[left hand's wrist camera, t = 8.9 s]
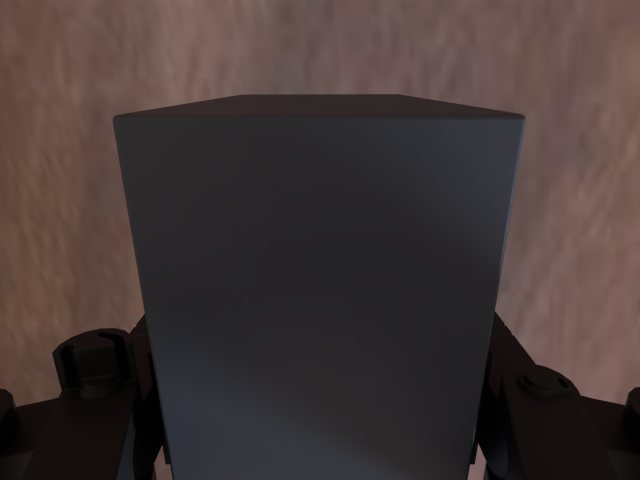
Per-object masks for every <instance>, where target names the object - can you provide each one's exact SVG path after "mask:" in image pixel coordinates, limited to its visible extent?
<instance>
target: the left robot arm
mask: <svg viewBox="0 0 640 480" xmlns="http://www.w3.org/2000/svg"><path fill="white" fill-rule="evenodd" d="M52 354H53V358H54V362H55V366H56V370H57V374H58V378H59V381H60V385H61V389H62V392H61V394H60V396H59V398H55V399H51V400H47V401H42V402H38V403H33V404H28V405H23V406H19V407H16V406H15V402H14V399H13V396H12V394H11V393H9V392H8V391H7V390H6V389H0V480H156V472H155V467H154V462H155V460H156V458H157V455H158V453H159V451H160V448H161V446H162V445H163V451H164V457H165V463H166V464H170V459H169V454H168V448H167V442H166V436H165V430H164V424H163V418H162V412H161V406H160V400H159V394H158V388H157V382H156V376H155V370H154V364H153V358H152V352H151V346H150V340H149V334H148V328H147V322H146V316H145V314H144V315H143V317H142V318H141V319H140V321H139V322H138V323H137V325H136V327H134V328H133V330H132V331H131V332H130V334H128V333H127V332H126V331H124V330H120V329H116V328H105V329H97V330H92V331H87V332H84V333H81V334H79V335H76V336H74V337H71V338H70V339H68V340H67V341H65V342H63V343H62V344H60V345H59V346H58V347H57V348H56V349H55V350H54V352H53V353H52ZM478 443H479V445H480V448H481V450H482V452H483V455H484V457H485V459H486V467H485V472H484V478H483V480H640V387H636V388H634V389H633V390H632V391H631V392H629V394H628V397H627V401H626V404H625V405H621V404H616V403H612V402H607V401H602V400H597V399H592V398H588V397H585V396H581V395H580V393H579V391H578V390H577V388H576V387H575V386H574V384H573V383H572V382H571V381H570V380H569V379H567V378H566V377H565V376H563V375H562V374H560V373H559V372H556V371H554V370H552V369H550V368H547V367H544V366H540V365H536V364H535V363H534V361H533V360H532V359H531V357H530V356H529V355H528V353H527V352H526V351H525V350H524V348H523V347H522V346H521V344H520V343H519V342H518V340H517V339H516V338H515V337H514V335H512V333H511V331H510V330H509V329H508V327H507V326H505V325H504V322H503V321H502V320H501V318H500V317H499V316H498V314H497V313H496V312H494V318H493V325H492V331H491V337H490V343H489V349H488V356H487V362H486V368H485V374H484V380H483V386H482V393H481V399H480V405H479V411H478V417H477V423H476V430H475V436H474V442H473V448H472V454H471V461H470V464H475V459H476V453H477V447H478Z"/></svg>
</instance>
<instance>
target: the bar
mask: <svg viewBox="0 0 640 480" xmlns="http://www.w3.org/2000/svg"><path fill="white" fill-rule="evenodd" d="M525 121H526V119H525V116H524V115H522V114H517V113H511V112H504V111H498V110H492V109H486V108H480V107H473V106H467V105H461V104H455V103H448V102H442V101H436V100H430V99H424V98H417V97H411V96H405V95H399V94H349V95H237V96H231V97H225V98H219V99H213V100H207V101H200V102H194V103H188V104H182V105H176V106H170V107H164V108H158V109H151V110H145V111H139V112H133V113H127V114H121V115H117V116H114V117H113V125H114V131H115V137H116V143H117V149H118V155H119V161H120V167H121V173H122V179H123V185H124V191H125V197H126V203H127V209H128V215H129V221H130V227H131V233H132V238H133V244H134V250H135V256H136V262H137V268H138V274H139V280H140V286H141V292H142V298H143V304H144V310H145V316H146V322H147V328H148V334H149V340H150V346H151V352H152V358H153V364H154V370H155V376H156V382H157V388H158V394H159V400H160V406H161V412H162V418H163V424H164V430H165V436H166V442H167V448H168V454H169V459H170V465H171V471H172V477H173V480H467V479H468V473H469V467H470V461H471V454H472V448H473V442H474V436H475V430H476V423H477V417H478V411H479V405H480V399H481V393H482V386H483V380H484V374H485V368H486V362H487V356H488V349H489V343H490V337H491V331H492V325H493V318H494V312H495V306H496V300H497V294H498V288H499V281H500V275H501V269H502V263H503V257H504V250H505V244H506V238H507V232H508V226H509V220H510V213H511V207H512V201H513V195H514V189H515V183H516V176H517V170H518V164H519V158H520V152H521V145H522V139H523V133H524V127H525Z"/></svg>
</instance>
